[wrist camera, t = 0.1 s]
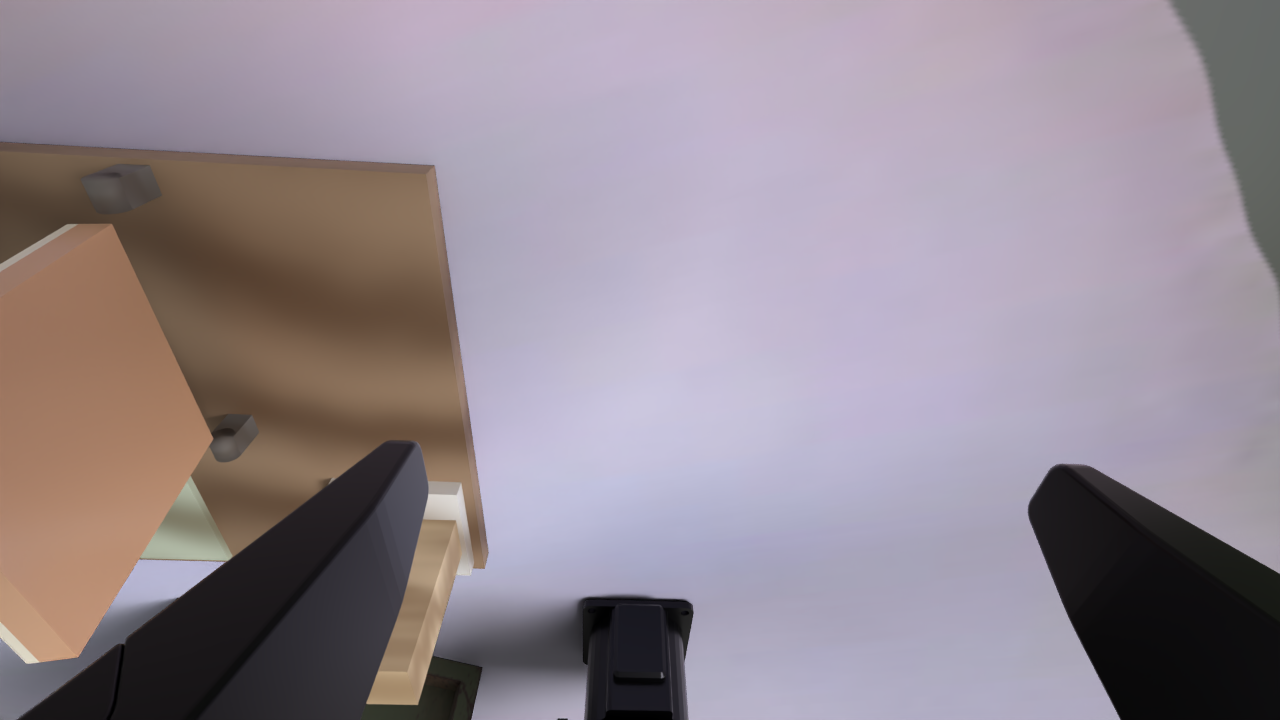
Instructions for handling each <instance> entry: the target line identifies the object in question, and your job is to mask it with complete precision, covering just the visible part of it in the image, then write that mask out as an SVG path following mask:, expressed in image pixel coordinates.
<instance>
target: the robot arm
mask: <svg viewBox="0 0 1280 720" xmlns="http://www.w3.org/2000/svg"><path fill="white" fill-rule="evenodd" d="M428 493H429V484H428V478H427V474H426V469H425V464H424V459H423V454H422V450H421V447H420V445H419V443H417V442H416V441H411V440H388V441H386V442H384V443H382V444H381V445H380V446H378V447H377V448H376V449H374V450H373V451H372V452H370V453H369V454H368V455H366V456H365V457H364V458H362V459H361V460H360V461H359V462H357V463H356V464H355V465H353V466H352V467H351V468H349V469H348V470H347V471H345V472H344V473H343V474H341V475H340V476H339V477H337V478H336V479H335V480H333V481H332V482H331V483H330V484H328V485H327V486H326V487H324V488H323V489H322V490H320V491H319V492H318V493H316V494H315V495H314V496H312V497H311V498H310V499H308V500H307V501H306V502H305V503H303V504H302V505H301V506H299V507H298V508H297V509H295V510H294V511H293V512H291V513H290V514H289V515H287V516H286V517H285V518H283V519H282V520H281V521H280V522H278V523H277V524H276V525H274V526H273V527H272V528H270V529H269V530H268V531H266V532H265V533H264V534H262V535H261V536H260V537H258V538H257V539H256V540H254V541H253V542H252V543H251V544H249V545H248V546H247V547H245V548H244V549H243V550H241V551H240V552H239V553H237V554H236V555H235V556H233V557H232V558H231V559H229V560H228V561H227V562H226V563H224V564H223V565H222V566H220V567H219V568H218V569H216V570H215V571H214V572H212V573H211V574H210V575H208V576H207V577H206V578H204V579H203V580H202V581H201V582H199V583H198V584H197V585H195V586H194V587H193V588H191V589H190V590H189V591H187V592H186V593H185V594H183V595H182V596H181V597H179V598H178V599H177V600H175V601H174V602H173V603H172V604H170V605H169V606H168V607H166V608H165V609H164V610H162V611H161V612H160V613H158V614H157V615H156V616H154V617H153V618H152V619H150V620H149V621H148V622H147V623H145V624H144V625H143V626H141V627H140V628H139V629H137V630H136V631H135V632H133V633H132V634H131V635H129V636H128V637H127V638H126V640H125V644H118V645H116V646H115V647H113V648H112V649H111V650H109V651H108V652H107V653H105V654H104V655H103V656H101V657H100V658H99V659H97V660H96V661H95V662H93V663H92V664H91V665H89V666H88V667H87V668H86V669H84V670H83V671H82V672H80V673H79V674H78V675H76V676H75V677H74V678H72V679H71V680H69V681H68V682H67V683H65V684H64V685H63V686H61V687H60V688H59V689H57V690H56V691H54V692H53V693H52V694H50V695H49V696H48V697H46V698H45V699H44V700H42V701H41V702H40V703H38V704H37V705H35V706H34V707H33V708H31V709H30V710H29V711H27V712H26V713H25V714H23V715H22V716H20V717H19V718H18V719H16V720H360V719H361V717H362V714H363V711H364V708H365V706H366V703H367V700H368V697H369V695H370V692H371V689H372V686H373V684H374V681H375V678H376V675H377V673H378V670H379V667H380V664H381V662H382V659H383V656H384V653H385V651H386V648H387V645H388V642H389V640H390V637H391V634H392V631H393V629H394V626H395V623H396V620H397V617H398V614H399V611H400V608H401V605H402V602H403V599H404V595H405V591H406V587H407V583H408V579H409V575H410V571H411V567H412V563H413V558H414V554H415V550H416V546H417V542H418V538H419V533H420V529H421V525H422V521H423V517H424V513H425V508H426V504H427V500H428ZM1028 516H1029V520H1030V523H1031V525H1032V528H1033V530H1034V533H1035V535H1036V538H1037V540H1038V543H1039V545H1040V548H1041V550H1042V553H1043V555H1044V558H1045V560H1046V563H1047V565H1048V568H1049V570H1050V573H1051V575H1052V578H1053V580H1054V583H1055V585H1056V588H1057V590H1058V593H1059V595H1060V598H1061V601H1062V603H1063V605H1064V608H1065V610H1066V612H1067V615H1068V617H1069V619H1070V621H1071V623H1072V626H1073V628H1074V630H1075V632H1076V634H1077V636H1078V638H1079V640H1080V642H1081V644H1082V646H1083V648H1084V650H1085V651H1086V653H1087V655H1088V657H1089V659H1090V661H1091V663H1092V665H1093V667H1094V669H1095V671H1096V673H1097V675H1098V677H1099V679H1100V681H1101V683H1102V685H1103V687H1104V688H1105V690H1106V692H1107V694H1108V696H1109V698H1110V700H1111V702H1112V704H1113V706H1114V708H1115V710H1116V712H1117V714H1118V716H1119V718H1120V720H1280V574H1279V573H1278V572H1276V571H1274V570H1272V569H1270V568H1269V567H1267V566H1265V565H1263V564H1262V563H1260V562H1258V561H1256V560H1255V559H1253V558H1251V557H1249V556H1248V555H1246V554H1244V553H1242V552H1241V551H1239V550H1237V549H1235V548H1233V547H1232V546H1230V545H1228V544H1226V543H1225V542H1223V541H1221V540H1219V539H1218V538H1216V537H1214V536H1212V535H1211V534H1209V533H1207V532H1205V531H1204V530H1202V529H1200V528H1198V527H1196V526H1195V525H1193V524H1191V523H1189V522H1188V521H1186V520H1184V519H1182V518H1181V517H1179V516H1177V515H1175V514H1174V513H1172V512H1170V511H1168V510H1167V509H1165V508H1163V507H1161V506H1159V505H1158V504H1156V503H1154V502H1152V501H1151V500H1149V499H1147V498H1145V497H1144V496H1142V495H1140V494H1138V493H1137V492H1135V491H1133V490H1131V489H1130V488H1128V487H1126V486H1124V485H1122V484H1121V483H1119V482H1117V481H1115V480H1114V479H1112V478H1110V477H1108V476H1107V475H1105V474H1103V473H1101V472H1100V471H1098V470H1096V469H1094V468H1092V467H1090V466H1087V465H1082V464H1057V465H1055V466H1053V467H1052V468H1051V469H1050V470H1049V471H1048V473H1047V474H1046V476H1045V478H1044V479H1043V481H1042V482H1041V484H1040V486H1039V487H1038V489H1037V490H1036V492H1035V494H1034V495H1033V497H1032V498H1031V500H1030V502H1029V505H1028ZM692 618H693V605H692V604H691V603H689V602H667V601H627V600H587V601H586V602H584V607H583V662H584V663H585V664H587V665H588V670H587V685H586V700H585V716H584V720H688V706H687V692H686V679H685V665H684V661H685V656H686V651H687V645H688V640H689V635H690V629H691V624H692ZM558 720H568V719H559V718H558Z"/></svg>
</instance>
